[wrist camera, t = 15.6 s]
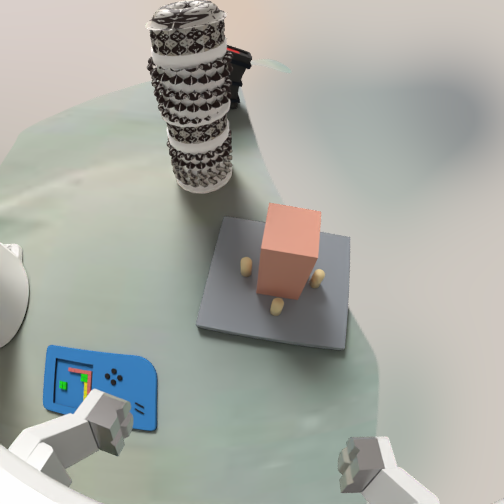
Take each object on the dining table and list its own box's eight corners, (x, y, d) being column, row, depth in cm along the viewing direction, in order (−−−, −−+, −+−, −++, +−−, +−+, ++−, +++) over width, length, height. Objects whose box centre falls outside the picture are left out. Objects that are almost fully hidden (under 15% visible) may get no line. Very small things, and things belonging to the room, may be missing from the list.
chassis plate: (197, 327, 32) (191, 317, 29) (224, 221, 38) (222, 203, 35) (341, 350, 31) (352, 343, 28) (347, 242, 37) (356, 226, 34)
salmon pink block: (256, 293, 33) (261, 248, 24) (262, 256, 35) (269, 202, 26) (297, 300, 32) (318, 257, 24) (302, 262, 35) (321, 211, 26)
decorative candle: (188, 206, 40) (152, 24, 18) (163, 165, 43) (128, 10, 21) (246, 179, 42) (251, 5, 20) (216, 143, 46) (207, -8, 24)
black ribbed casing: (161, 102, 49) (188, 33, 38) (225, 116, 55) (259, 55, 44) (160, 112, 47) (188, 40, 36) (227, 127, 54) (264, 63, 42)
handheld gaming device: (154, 431, 25) (41, 408, 25) (157, 430, 26) (46, 408, 26) (156, 356, 29) (46, 343, 29) (159, 358, 30) (50, 345, 30)
